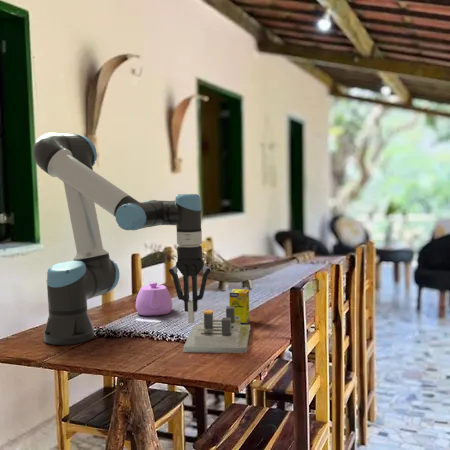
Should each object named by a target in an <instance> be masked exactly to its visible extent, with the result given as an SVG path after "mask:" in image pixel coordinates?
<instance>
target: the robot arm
mask: <svg viewBox="0 0 450 450" xmlns="http://www.w3.org/2000/svg"><path fill="white" fill-rule="evenodd" d="M97 157H98V152H97V148H96V146H95V144H94V142H93V141H92V140H91V139H89V137H87V136H85V135H81V134H77V133H59V132H58V133H57V132H48V133H44V134H43V135H40V136H39V137H38V138H37V139H36V140H35V142H34V143H33V147H32V158H33V160H34V162H35V164H36V165H37V166H38V167H39V168H40V170H42V171H43V172H44V173H46V174H47V175H49V176H50V177H52V178H58V179H59V180H60V181H62V183H63V188H64V191H65V197H66V202H67V208H68V209H67V210H68V213H69V218H70V219H69V220H70V223H71V224H70V225H71V229H72V235H73V239H74V245H75V250H76V255H75V256H74V257H73V259H72V260H68V261H64V262H63V261H61V262H58V263H56V264H53V265H51V266H50V267H48V269H47V272H46V276H47V277H46V289H47V303H48V305H47V306H48V317H47V321H46V324H45V328H44V332H43V341H44V343H46V344H49V345H57V346H68V345H76V344H82V343H85V342H88V341H90V340H92V339H93V338H94V337H95V328H94V325H93V323H92V321H91V318H90V316H89V312H88V300H90V299H94V298H97V297H99V296H104V295H107V293H110V292H112V291H113V290H114V289H115V288H116V287H117V285H118V284H119V281H120V269H119V266H118V264H117V263H116V262H115V261H114V260H113V259H112V258H111V257H110V253H109V251H108V250H106V249H105V248H104V246H103V241H102V236H101V231H100V225H99V220H98V214H97V210H96V209H97V208H96V205H98V206H99V207H100V208H102V209H103V210H105V211H107V212H108V213H109V214H111V215H112V216H113V217H115V222H116V223H117V225H118V227H119V228H120V229H122V230H123V231H124V230H125V231H138V230H141V229H146V228H152V227H157V226H175V227H176V244H177V245H178V246H177V247H176V256H177V259H176V262H175V265H174V266H172V267H170V268H169V269H168V273H169V274H170V276H172V281H173V284H174V288H175V292H176V295H177V296H176V297H177V299H178V300H181V301H183V303H184V312H187V317H188V318H187V321H188V323H187V324H194V322H195V321H196V320H195V312H196V313H197V312H198V309H199V307H198V305H199V304H198V301H199V300H203V298H204V295H205V290H206V286H207V281H208V277H209V275H210V273H211V271H212V267H210V266H207V265H205V262H204V260H203V247H202V245H201V244H202V243H203V239H202V237H203V235H202V234H203V233H202V208H203V207H202V202H201V196H200V195H199V193H198V194H197V193H180V194H179V193H178V194H177V195H175V199H174V200H156V199H152V200H151V199H150V200H145V201H143V202H140V201H138V200H137V199H135V198H134V197H132V196H131V195H130V194H128V193H127V192H125V191H124V190H122V189H120V188H119V187H118V186H116V185H115V184H113V183H112V182H111V181H109V180H108V179H107V178H105V177H103V176H102V175H100V174H99V173H98V172H96V171H94V169H93V168H94V166H95V164H96V161H97V159H98V158H97ZM95 204H96V205H95ZM201 270H202V273H203V275H202V278H201V279H202V280H201V284H200V289H199V293H198V275H199V273H200V272H201ZM178 272H180V274H181V275H182V278H183V289H182V286H181V283H180V279H179V275H178ZM189 277H191V288H192V289H191V290H192V294H191V295H192V299H190V297H191V296H190V281H189V280H190V279H189Z"/></svg>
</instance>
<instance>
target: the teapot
mask: <svg viewBox="0 0 450 450" xmlns="http://www.w3.org/2000/svg"><path fill="white" fill-rule="evenodd" d="M135 300H136V301H135V310H136V312H137V313H138V314H139V315H140V316H161V315H167V314H170V312H171V311H172V309H173V301H172V297H171V293H170V292H169V290H168V288H167V286H165V285H164V284H163V285H162V284H158V282H149V285H144V286H141V287H140V289H139V291H138V294H137V296H136V299H135Z"/></svg>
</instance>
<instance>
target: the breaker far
mask: <svg viewBox="0 0 450 450" xmlns="http://www.w3.org/2000/svg"><path fill="white" fill-rule="evenodd" d="M225 318H231V321H234V319H235V309H234V306H230V305H229V306H227V305H226V308H225Z"/></svg>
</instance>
